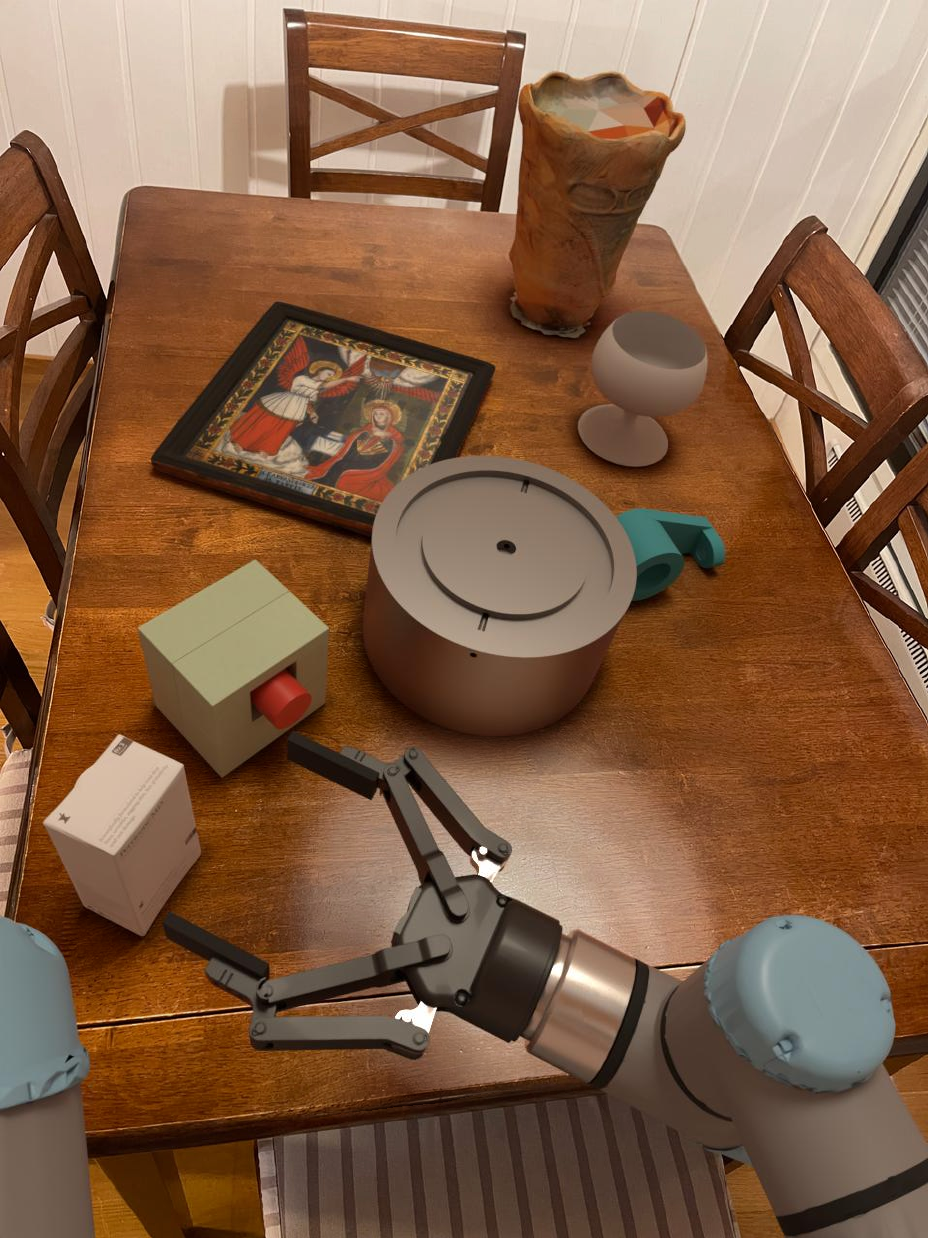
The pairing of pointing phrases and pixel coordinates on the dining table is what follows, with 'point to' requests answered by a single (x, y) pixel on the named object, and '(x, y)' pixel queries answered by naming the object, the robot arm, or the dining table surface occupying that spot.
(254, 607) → the box
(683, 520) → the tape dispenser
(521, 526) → the container
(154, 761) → the cosmetic box
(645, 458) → the chalice
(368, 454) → the framed painting
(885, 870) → the dining table surface
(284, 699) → the button
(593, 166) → the vase
